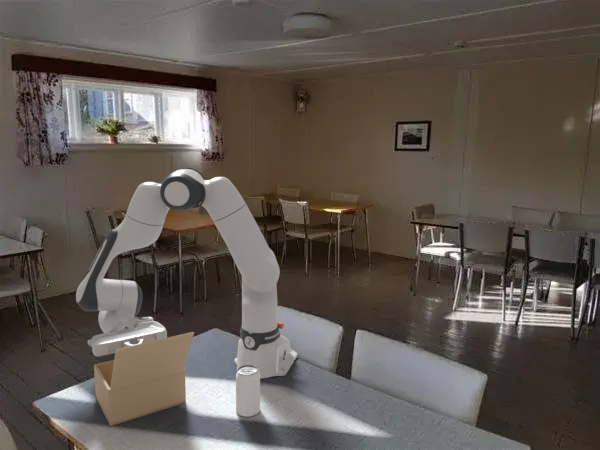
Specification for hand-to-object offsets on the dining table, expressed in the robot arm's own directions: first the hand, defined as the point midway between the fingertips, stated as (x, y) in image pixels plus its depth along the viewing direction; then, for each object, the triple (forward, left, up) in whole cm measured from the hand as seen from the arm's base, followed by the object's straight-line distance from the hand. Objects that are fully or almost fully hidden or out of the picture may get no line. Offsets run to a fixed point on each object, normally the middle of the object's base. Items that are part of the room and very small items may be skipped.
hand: (138, 349), depth 128 cm
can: (-10, +29, -15) cm, 34 cm away
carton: (0, 0, -15) cm, 15 cm away
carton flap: (+5, +10, +2) cm, 12 cm away
